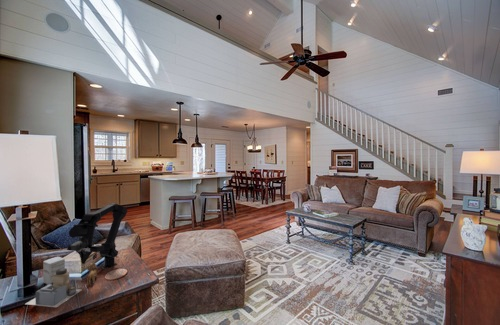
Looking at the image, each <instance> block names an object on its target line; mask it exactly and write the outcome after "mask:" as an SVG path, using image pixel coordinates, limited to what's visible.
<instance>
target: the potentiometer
mask: <svg viewBox="0 0 500 325" xmlns="http://www.w3.org/2000/svg"><path fill="white" fill-rule="evenodd" d="M76 289H77V287H74V286H70V287H69V289H68V293H67V295H68V296H72V295H74V296H75V295H77V294H76ZM72 297H73V296H72Z"/></svg>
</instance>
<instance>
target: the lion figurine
mask: <svg viewBox="0 0 500 325" xmlns="http://www.w3.org/2000/svg"><path fill="white" fill-rule="evenodd" d="M86 270H87V271H89V272H88V273H89V274H88V276H87V277H86V287H89V286H90V287H92V284H95V278H97V277H98V271H99V269H98V266H97V264H96V263H94V262H90V263H89V265H88V266H87V267H86ZM91 280H92V284H91Z"/></svg>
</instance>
